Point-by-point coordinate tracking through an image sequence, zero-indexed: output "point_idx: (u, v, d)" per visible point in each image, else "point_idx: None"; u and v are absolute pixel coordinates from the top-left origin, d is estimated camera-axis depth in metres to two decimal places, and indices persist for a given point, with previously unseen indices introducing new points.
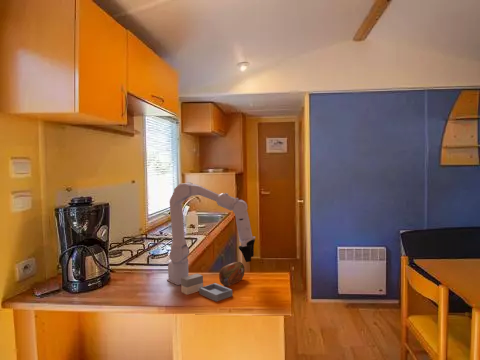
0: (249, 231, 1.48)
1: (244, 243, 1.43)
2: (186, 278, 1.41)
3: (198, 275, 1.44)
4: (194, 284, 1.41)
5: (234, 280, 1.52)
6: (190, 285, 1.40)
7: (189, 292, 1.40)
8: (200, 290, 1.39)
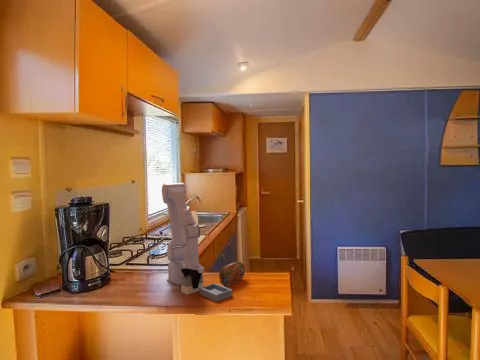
0: (184, 258, 1.42)
1: None
2: (186, 278, 1.41)
3: None
4: None
5: (234, 280, 1.52)
6: (190, 285, 1.40)
7: (189, 292, 1.40)
8: (200, 290, 1.39)
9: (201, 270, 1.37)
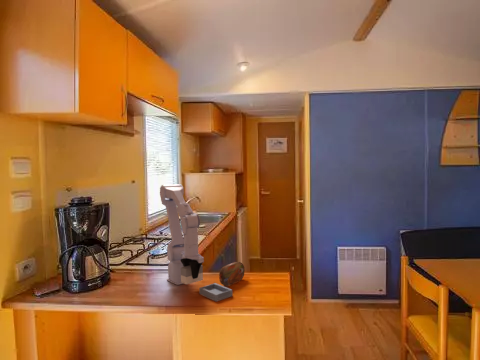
0: (184, 247, 1.42)
1: None
2: (186, 268, 1.41)
3: None
4: None
5: (234, 280, 1.52)
6: (190, 275, 1.40)
7: (189, 282, 1.40)
8: (200, 290, 1.39)
9: (201, 260, 1.37)
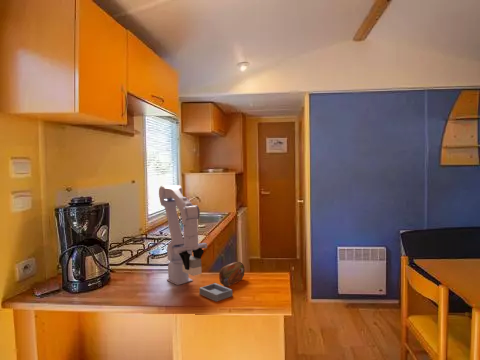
0: (190, 240, 1.39)
1: (176, 250, 1.37)
2: (196, 259, 1.41)
3: None
4: None
5: (234, 280, 1.52)
6: None
7: None
8: (200, 290, 1.39)
9: None
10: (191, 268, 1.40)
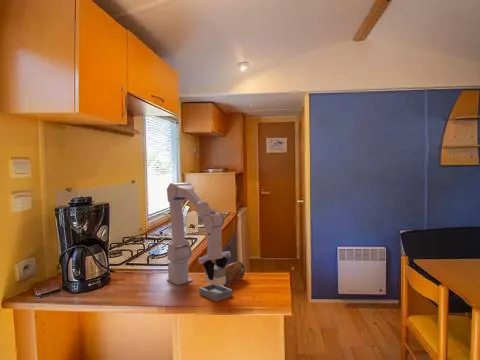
0: (215, 249, 1.34)
1: (200, 260, 1.32)
2: (220, 268, 1.36)
3: None
4: None
5: (234, 280, 1.52)
6: None
7: None
8: (200, 290, 1.39)
9: None
10: (215, 277, 1.34)
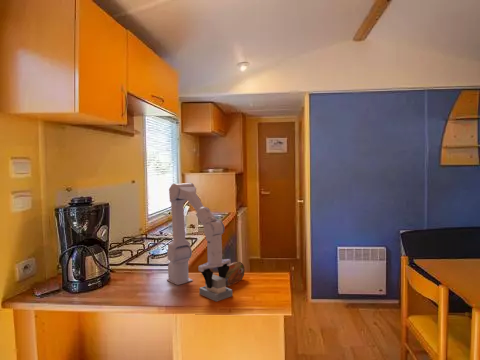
0: (215, 257, 1.35)
1: (200, 268, 1.32)
2: (220, 278, 1.36)
3: (212, 275, 1.40)
4: None
5: (234, 280, 1.52)
6: None
7: None
8: (200, 290, 1.39)
9: None
10: (215, 288, 1.35)
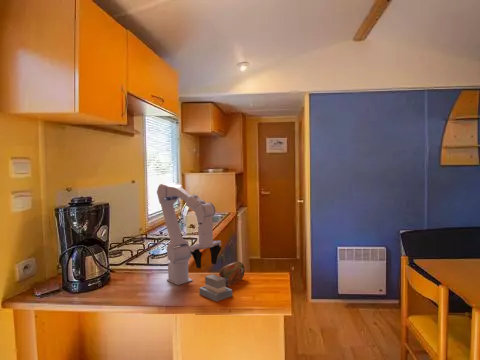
0: (206, 237, 1.40)
1: (191, 248, 1.37)
2: (220, 278, 1.36)
3: (212, 275, 1.40)
4: None
5: (234, 280, 1.52)
6: None
7: None
8: (200, 290, 1.39)
9: None
10: (215, 288, 1.35)
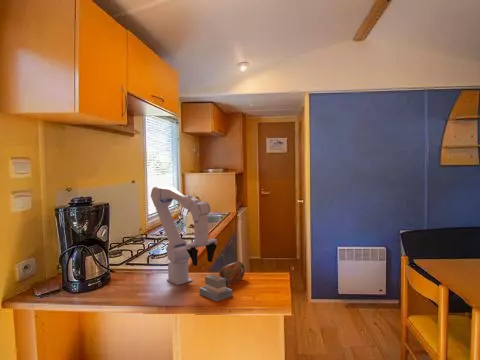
0: (201, 235, 1.43)
1: (187, 246, 1.40)
2: (220, 278, 1.36)
3: (212, 275, 1.40)
4: None
5: (234, 280, 1.52)
6: None
7: None
8: (200, 290, 1.39)
9: None
10: (215, 288, 1.35)
